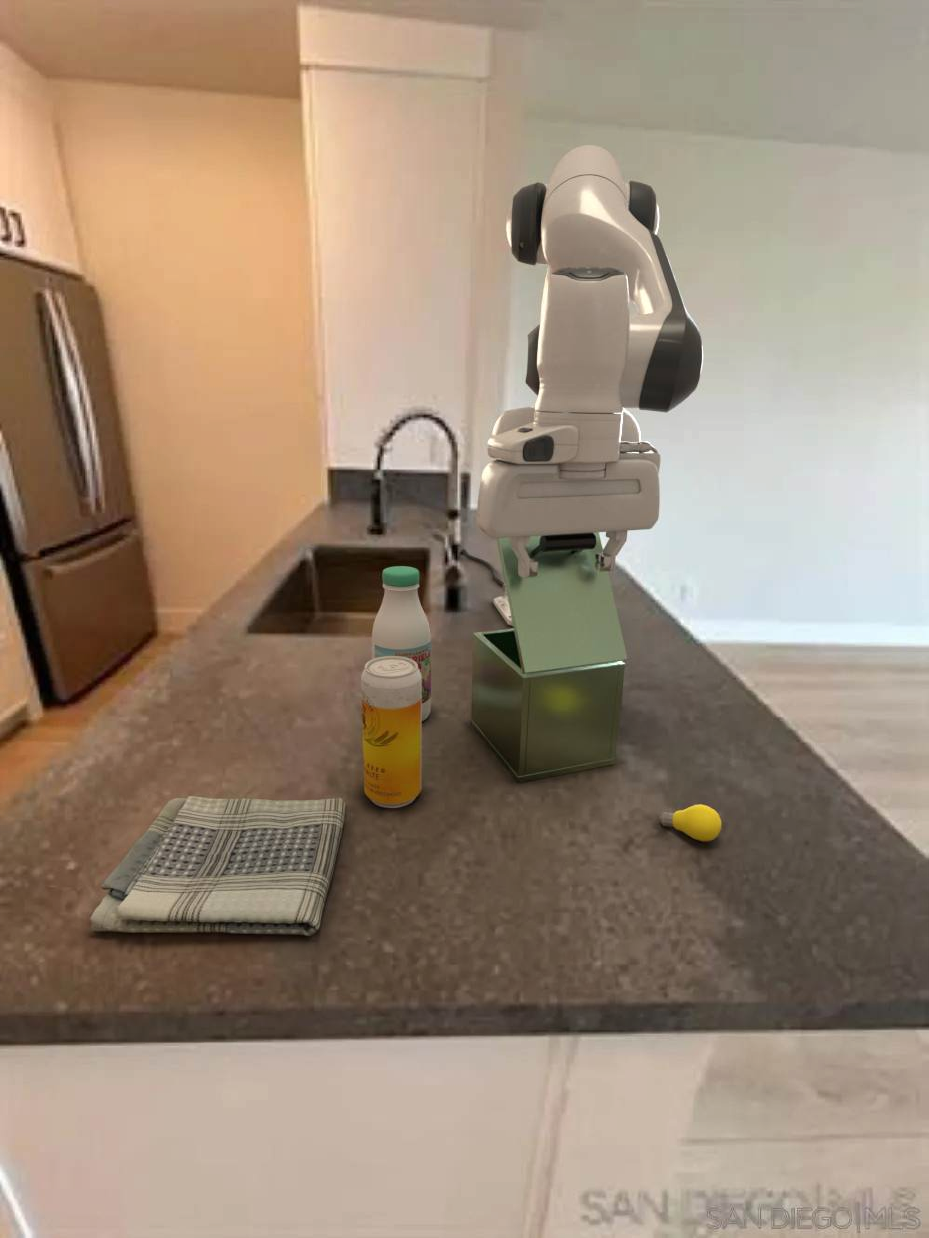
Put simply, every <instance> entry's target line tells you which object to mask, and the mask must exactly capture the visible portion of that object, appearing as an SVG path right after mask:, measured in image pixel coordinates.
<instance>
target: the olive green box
mask: <svg viewBox="0 0 929 1238" xmlns="http://www.w3.org/2000/svg"><path fill="white" fill-rule="evenodd" d="M472 637H473V639H472V673H471V674H472V676H471V708H470V709H471V710H470V712H471V713H470V726H471V727H472V728H473V729H474V731H475V732H476V733H477V734H478V735H479V737H480V738H481V739H482V740H483V742H484V743H485V744H486V745H487V746H488V748H489V749H490V751H491V752H492V753H493V754H494V756H496V758H497V759H498V760H499V762H500V763H501V764H502V765H503V766H504V767H505V769H506V770H507V772H508V773H509V774H510V775H511V777H513V779H514V780H515V781H516V783H517V784H519V783H525V782H530V781H536V780H541V779H545V778H551V777H557V776H562V775H567V774H571V773H577V772H582V771H586V770H593V769H597V768H602V767H607V766H608V767H609V766H613V765H616V758H617V757H616V756H617V747H618V740H619V739H618V738H619V730H620V729H619V728H620V721H621V719H620V718H621V709H622V701H623V691H624V682H625V672H626V671H625V670H626V663H625V662H624V661H618V662H611V663H603V664H596V665H588V666H581V667H573V668H566V669H558V670H551V671H544V672H536V673H529V674H522V669H521V663H520V658H519V653H518V648H517V643H516V638H515V632H514V628H506V629H497V630H488V631H479V632H473V635H472Z"/></svg>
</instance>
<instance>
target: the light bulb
mask: <svg viewBox="0 0 929 1238" xmlns="http://www.w3.org/2000/svg"><path fill="white" fill-rule="evenodd" d="M659 822H660V823H661V825H662V826H663V827H670V828H671V827H672V828H674V829H675V830H676V831H679V832H683V833H684V834H685V835H687V836H688V837H691V838H692V839H694V840H697V841H700V842H702V843H703V842H710V841H713V840H715V839H716V838H717V837H718V836H719V834H720V832H721V831H722V824H723V823H722V819H721V816H720V814H719V813H718V812H717V811H716V809H713V808H712V807H711V806H708V805H705V804H701V803H700V804H693V805H691V806H689V807H687V808H685V809H681V810H676V811H675V812H670V811H669V812H667V811H663V812H662V814H661V815H660V816H659Z"/></svg>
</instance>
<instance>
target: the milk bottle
mask: <svg viewBox="0 0 929 1238" xmlns="http://www.w3.org/2000/svg"><path fill="white" fill-rule="evenodd" d="M381 578H382V588H383V589H384V595H383V598H382V601H381V605H380V607H379V609H378V611H377V613H376V616H375V619H374V622H373V625H372V632H371V660H372V659H375V658H378V657H384V656H401V657H406V658H410V659H412V660H414V661H415V662H416V663H417V665H418V669H419V671H420V673H421V675H422V722H424V721H425V720H426V719H428V717H429V716H430V714H431V711H432V709H431V708H432V637H431V628H430V624H429V620H428V618H427V615H426V613H425V611H424V609H423V607H422V605H421V602H420V598H419V593H418V588H420V571H419V570H418V568H416V567H412V566H405V565H398V566H397V565H395V566H390V567H386V568H384V569H383V570H382V577H381Z"/></svg>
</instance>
